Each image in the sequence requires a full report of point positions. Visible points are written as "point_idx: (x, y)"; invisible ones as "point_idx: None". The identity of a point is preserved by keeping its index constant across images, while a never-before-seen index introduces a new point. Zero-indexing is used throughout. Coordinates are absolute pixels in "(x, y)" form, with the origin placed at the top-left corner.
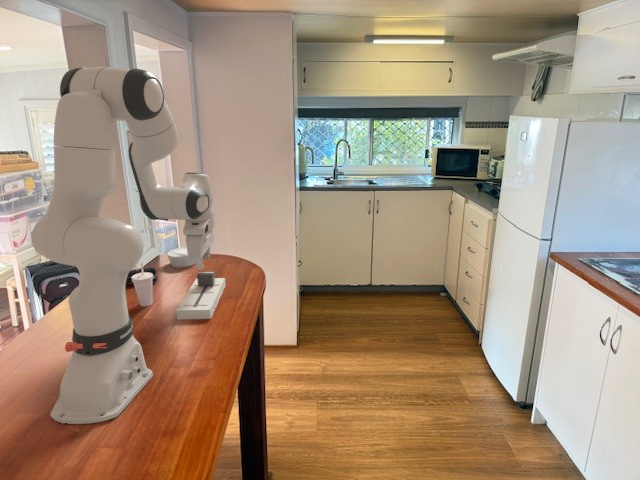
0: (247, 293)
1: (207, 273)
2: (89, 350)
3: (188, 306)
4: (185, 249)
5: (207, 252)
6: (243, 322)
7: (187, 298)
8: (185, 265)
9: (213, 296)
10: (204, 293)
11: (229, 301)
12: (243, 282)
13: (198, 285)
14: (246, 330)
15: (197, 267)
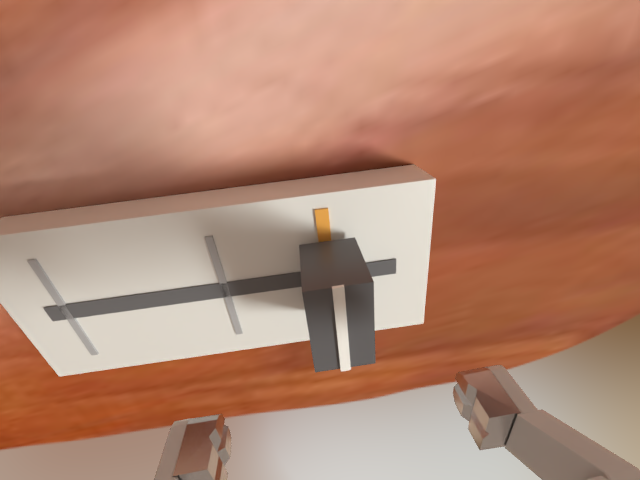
0: (332, 379)
1: (330, 344)
2: None
3: (37, 284)
4: None
5: (524, 449)
6: (112, 424)
7: (130, 241)
8: None
9: (197, 346)
10: (220, 299)
11: (254, 350)
12: (437, 343)
13: (299, 248)
14: (67, 441)
15: (171, 441)
